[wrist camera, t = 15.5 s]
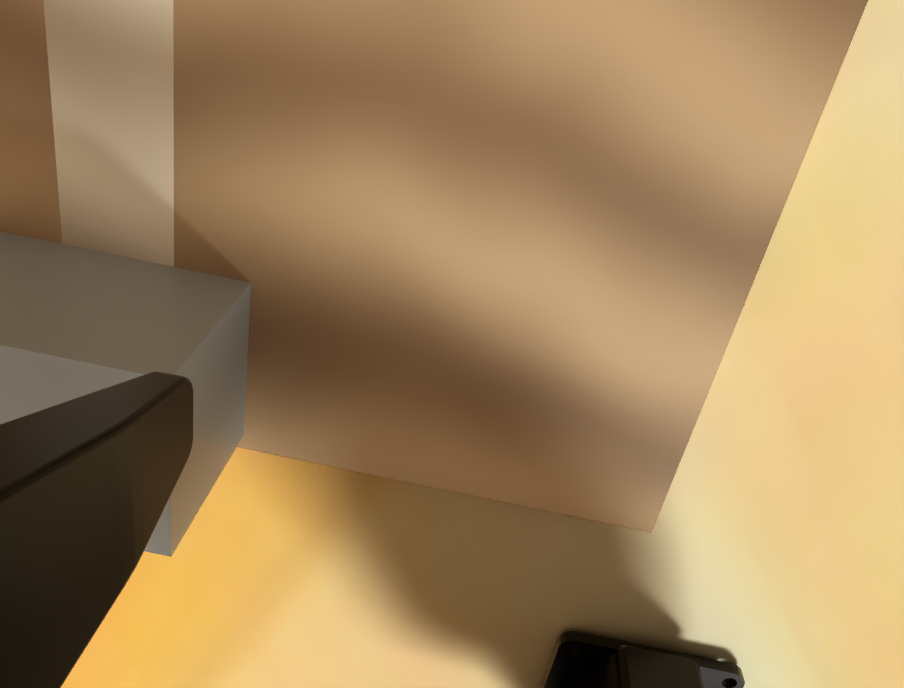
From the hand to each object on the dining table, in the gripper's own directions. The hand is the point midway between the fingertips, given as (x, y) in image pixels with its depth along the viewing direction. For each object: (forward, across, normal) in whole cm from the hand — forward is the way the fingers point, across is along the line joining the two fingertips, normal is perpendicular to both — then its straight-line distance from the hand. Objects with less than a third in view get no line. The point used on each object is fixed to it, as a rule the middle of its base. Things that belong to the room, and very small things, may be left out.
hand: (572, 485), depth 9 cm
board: (+12, +6, -1) cm, 13 cm away
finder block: (+11, +11, +6) cm, 16 cm away
